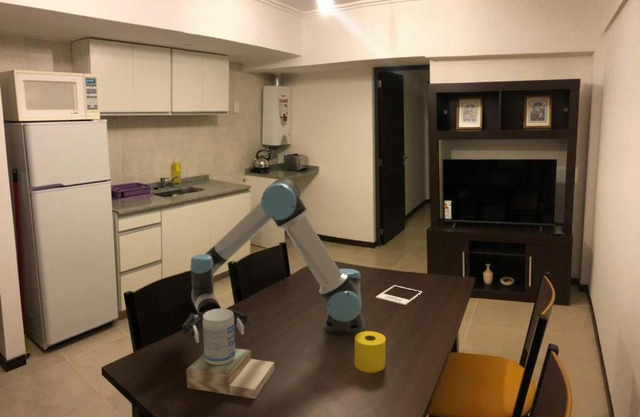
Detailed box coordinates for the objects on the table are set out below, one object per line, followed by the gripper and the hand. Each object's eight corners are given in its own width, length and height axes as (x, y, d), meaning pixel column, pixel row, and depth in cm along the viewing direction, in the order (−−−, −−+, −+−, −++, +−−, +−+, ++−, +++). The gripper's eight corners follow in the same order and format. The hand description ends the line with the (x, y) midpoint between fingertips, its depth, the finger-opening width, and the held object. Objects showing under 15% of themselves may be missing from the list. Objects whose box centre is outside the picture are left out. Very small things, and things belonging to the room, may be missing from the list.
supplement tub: (236, 364, 146) (235, 320, 143) (204, 368, 144) (202, 323, 141) (234, 348, 155) (233, 306, 152) (204, 352, 153) (202, 309, 150)
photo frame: (375, 296, 215) (394, 284, 229) (375, 298, 215) (394, 286, 230) (405, 303, 207) (422, 291, 221) (405, 306, 207) (422, 293, 221)
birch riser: (274, 370, 154) (274, 352, 153) (255, 398, 139) (254, 379, 138) (212, 361, 160) (211, 344, 159) (187, 387, 145) (186, 368, 144)
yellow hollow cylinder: (353, 356, 163) (354, 331, 161) (383, 357, 163) (384, 331, 161) (355, 372, 154) (355, 345, 152) (386, 372, 153) (387, 345, 151)
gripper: (244, 312, 169) (260, 338, 150) (170, 324, 160) (178, 353, 141) (243, 292, 168) (260, 315, 149) (169, 303, 158) (177, 329, 139)
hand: (220, 334), depth 145 cm, fingers open, 13 cm apart
